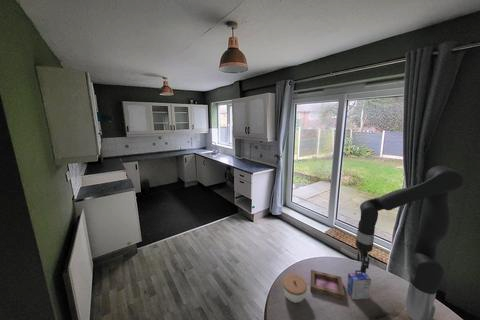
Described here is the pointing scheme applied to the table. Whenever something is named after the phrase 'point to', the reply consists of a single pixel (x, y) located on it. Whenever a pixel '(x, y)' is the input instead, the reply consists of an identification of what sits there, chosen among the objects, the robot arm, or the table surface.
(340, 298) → the picture frame
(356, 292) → the ink cartridge box
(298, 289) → the lidded bowl
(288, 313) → the table surface
